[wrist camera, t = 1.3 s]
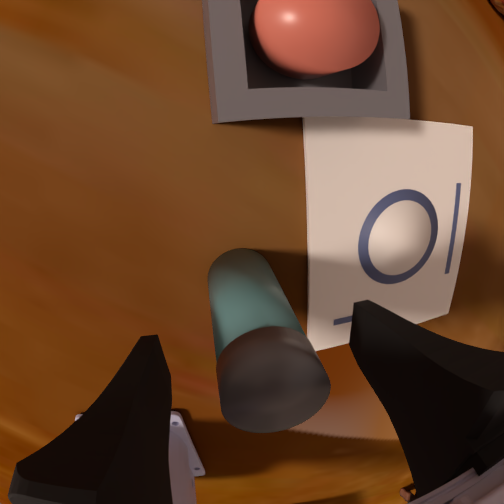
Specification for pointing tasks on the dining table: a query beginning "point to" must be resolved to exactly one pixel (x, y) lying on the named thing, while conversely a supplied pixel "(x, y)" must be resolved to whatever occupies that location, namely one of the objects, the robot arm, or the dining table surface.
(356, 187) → the paper sheet
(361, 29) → the button
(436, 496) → the robot arm
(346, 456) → the dining table surface
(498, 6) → the croissant
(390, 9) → the button housing
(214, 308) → the marker
